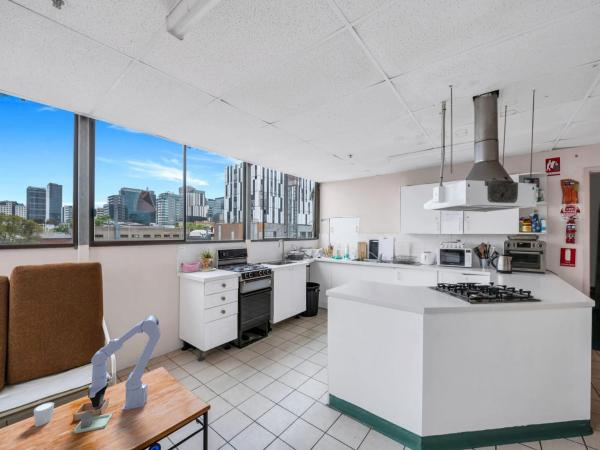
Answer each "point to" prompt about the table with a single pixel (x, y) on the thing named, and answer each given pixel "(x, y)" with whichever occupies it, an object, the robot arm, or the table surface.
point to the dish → (90, 409)
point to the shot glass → (43, 413)
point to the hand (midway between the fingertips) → (98, 403)
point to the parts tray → (94, 423)
